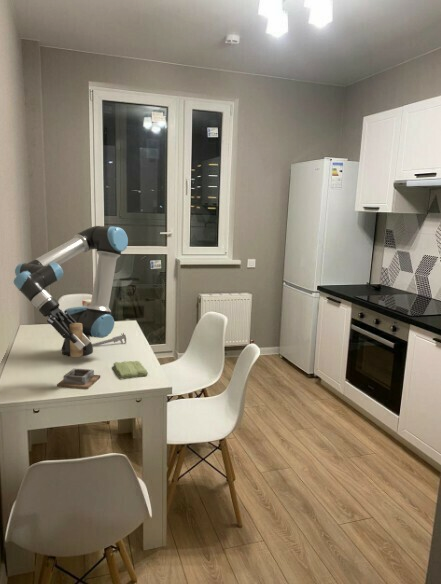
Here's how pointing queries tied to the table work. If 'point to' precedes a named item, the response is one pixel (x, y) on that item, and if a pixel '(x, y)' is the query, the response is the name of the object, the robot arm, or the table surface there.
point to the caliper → (112, 340)
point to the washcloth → (129, 369)
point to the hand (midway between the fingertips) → (85, 345)
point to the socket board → (79, 379)
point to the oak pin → (77, 330)
